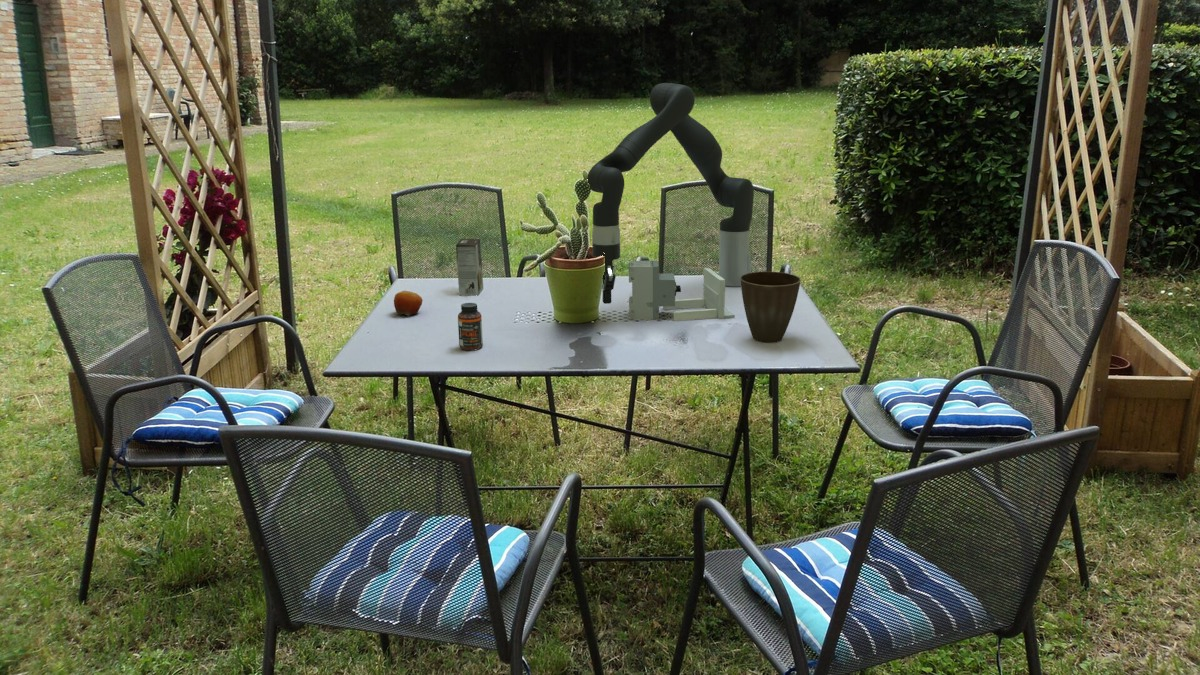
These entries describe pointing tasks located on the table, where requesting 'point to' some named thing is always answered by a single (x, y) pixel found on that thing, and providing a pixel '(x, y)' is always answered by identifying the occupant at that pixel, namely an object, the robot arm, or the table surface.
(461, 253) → the coffee box
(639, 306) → the circuit breaker
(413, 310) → the fruit
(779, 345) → the table surface
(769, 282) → the plant pot
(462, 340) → the supplement bottle
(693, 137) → the robot arm
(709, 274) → the rail bracket
